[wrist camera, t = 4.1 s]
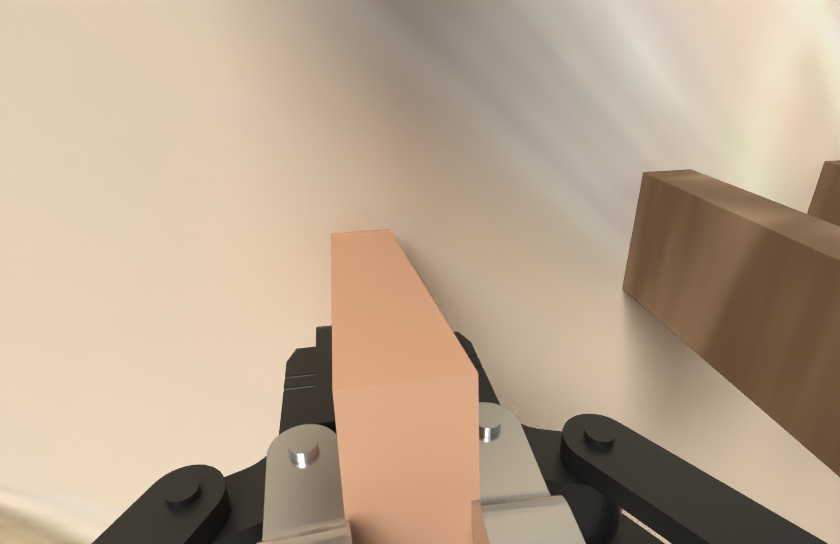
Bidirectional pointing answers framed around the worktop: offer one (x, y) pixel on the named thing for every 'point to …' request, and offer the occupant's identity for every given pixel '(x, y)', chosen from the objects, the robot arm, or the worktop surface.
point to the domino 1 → (399, 400)
